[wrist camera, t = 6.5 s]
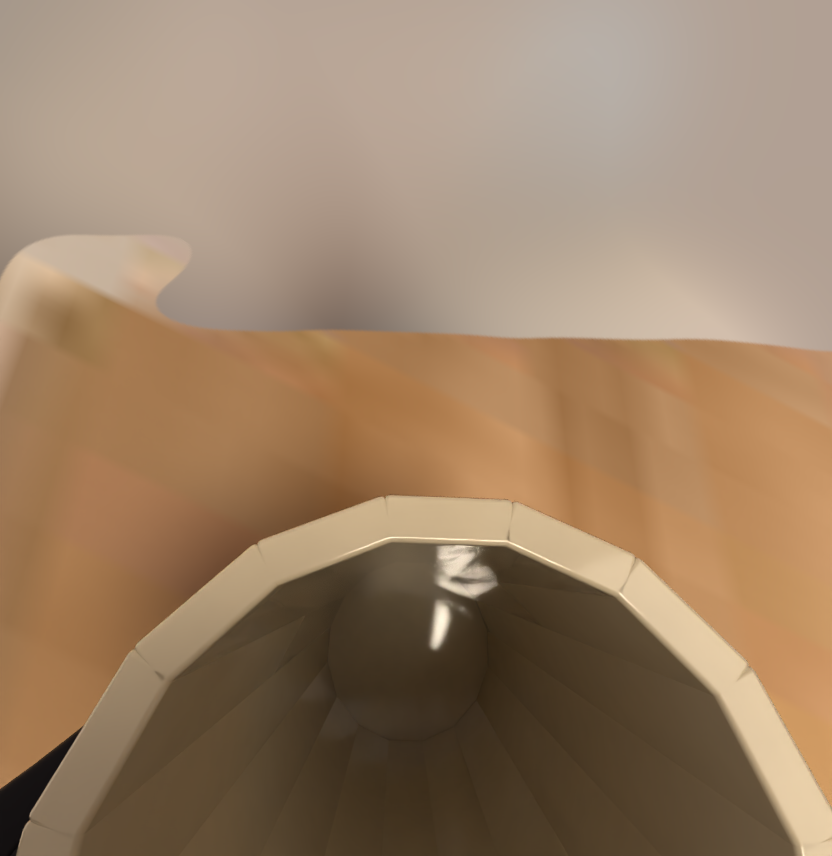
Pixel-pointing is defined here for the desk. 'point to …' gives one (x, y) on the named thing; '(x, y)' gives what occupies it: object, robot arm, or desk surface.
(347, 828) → the pen pot
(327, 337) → the desk surface
